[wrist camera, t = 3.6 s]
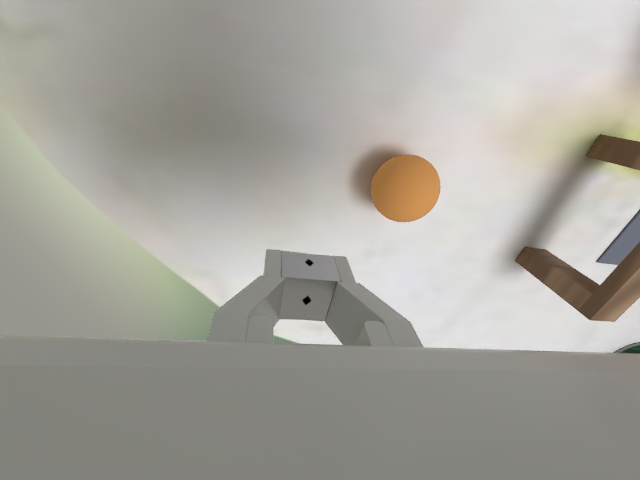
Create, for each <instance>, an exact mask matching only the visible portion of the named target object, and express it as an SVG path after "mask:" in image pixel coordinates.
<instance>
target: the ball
mask: <svg viewBox="0 0 640 480" xmlns="http://www.w3.org/2000/svg"><path fill="white" fill-rule="evenodd" d="M439 194H440V179H439V176H438V173H437V171H436V170H435V168H434V167H433V166H432V165H431V164H430V163H429V162H428V161H427V160H425V159H423V158H421V157H419V156H415V155H400V156H396V157H393V158H391V159H389V160H388V161H386V162H385V163H384V164H382V165H381V166H380V168H379V169H378V170H377V172H376V173H375V175H374V177H373V180H372V184H371V196H372V200H373V203H374V205H375V207H376V208H377V210H378V211H379V212H380V213H381V214H382V215H384V216H385V217H387V218H388V219H391V220H393V221H397V222H410V221H414V220H417V219H419V218H421V217H423V216H425V215H426V214H427V213H428V212H429V211H430V210H431V209H432V208H433V207H434V205H435V204H436V202H437V200H438V197H439Z"/></svg>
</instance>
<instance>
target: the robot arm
mask: <svg viewBox="0 0 640 480" xmlns="http://www.w3.org/2000/svg"><path fill="white" fill-rule="evenodd" d="M279 319H300V320H315V321H326V322H325V323H326V324H327V325H328V326H329V328H330V329H331V330H332V331H333V333H334V334H335V335H336V336H337V338H338V339H339V340H340V341H341V343H342V344H343V345H322V344H287V343H273V327H274V326H275V324H276V323H277V322H278V320H279ZM0 480H640V354H631V353H595V352H561V351H527V350H494V349H458V348H425V347H423V345H422V344H421V342H420V340H419V338H418V336H417V334H416V332H415V330H414V328H413V326H412V324H411V323H410V322H409V321H408V320H407V319H405V318H404V317H403V316H402V315H400V314H399V313H398V312H396V311H395V310H394V309H392V308H391V307H390V306H389V305H387V304H386V303H385V302H383V301H382V300H381V299H379V298H378V297H377V296H375V295H374V294H373V293H372V292H370V291H369V290H368V289H366V288H365V287H364V286H362V285H361V284H360V283H356V282H355V279H354V276H353V274H352V271H351V268H350V266H349V263H348V260H347V258H346V257H344V256H327V255H314V254H307V253H298V252H290V251H282V250H281V251H280V250H272V249H267V250H266V257H265V265H264V273H263V276H259V277H258V278H257V279H255V280H254V281H253V282H252V283H250V284H249V285H248V286H247V287H245V288H244V289H243V290H242V291H240V292H239V293H238V294H237V295H235V296H234V297H233V298H231V299H230V300H229V301H228V302H226V303H225V304H224V305H223V306H221V307H220V308H219V309H218V310H216V311H215V312H214V316H213V319H212V323H211V326H210V330H209V333H208V337H207V341H188V340H155V339H122V338H88V337H53V336H19V335H0Z"/></svg>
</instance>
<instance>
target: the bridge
mask: <svg viewBox="0 0 640 480" xmlns="http://www.w3.org/2000/svg"><path fill="white" fill-rule="evenodd" d="M586 156H588V157H592V158H595V159H599V160H603V161H607V162H610V163H614V164H618V165H622V166H625V167H629V168H633V169H637V170H640V142H638V141H632V140H627V139H622V138H616V137H611V136H606V135H600V136H599V137H598V139H597V140H596V142H595V143H594V145H593V146H592V148H591V149H590V151H589V152H588V154H587V155H586ZM516 262H517V263H518V264H520V265H521V266H522V267H523V268H525V269H526V270H527V271H529V272H530V273H531V274H532V275H534V276H535V277H536V278H537V279H539V280H540V281H541V282H542V283H544V284H545V285H546V286H547V287H549V288H550V289H551V290H552V291H554V292H555V293H556V294H558V295H559V296H560V297H561V298H563V299H564V300H565V301H566V302H568V303H569V304H570V305H571V306H573V307H574V308H575V309H576V310H578V311H579V312H580V313H582V314H583V315H584V316H585V317H587V318H588V319H589V320H596V321H612V322H615V321H616V320H617V319H618V318H619V317H620V316H621V315H622V314H623V313H624V312H625V311H626V310H627V309H628V308H629V307H630V306H631V305H632V304H633V303H634V302H635V301H636V300H637V299H638V298H639V297H640V242H639V243H638V244H637V245H636V246H635V247H634V249H633V250H632V251H631V252H630V253H629V254H628V255H627V256H626V257H625V259H624V260H623V261H622V262H621V263H620V264H619V265H618V266H617V267H616V268H615V270H614V271H613V272H612V273H611V274H610V275H609V276H608V277H607V278H606V280H605V281H604V282H603V283H602V284H601V285H599V284H597V283H596V282H594V281H593V280H591V279H589V278H588V277H586V276H585V275H583V274H582V273H580V272H579V271H577V270H576V269H574V268H573V267H571V266H570V265H568V264H567V263H565V262H564V261H562V260H561V259H559V258H558V257H556V256H555V255H553V254H552V253H550V252H549V251H547V250H544V249H536V248H528V247H525V248H524V249H523V251H522V252H521V254H520V255H519V257H518V258H517V260H516Z"/></svg>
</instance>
